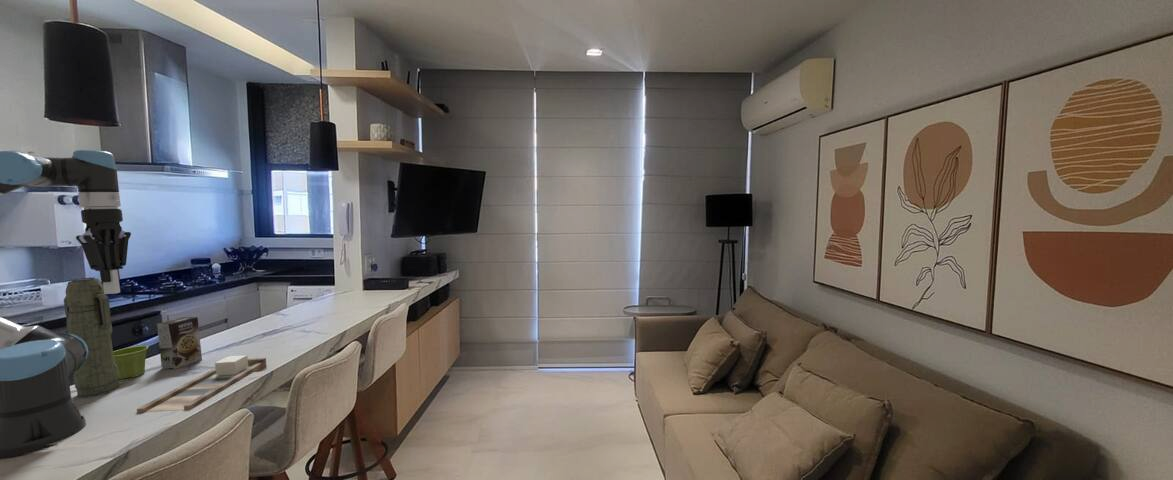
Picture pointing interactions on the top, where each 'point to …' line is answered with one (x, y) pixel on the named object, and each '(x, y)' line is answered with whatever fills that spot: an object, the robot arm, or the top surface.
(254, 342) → the top surface
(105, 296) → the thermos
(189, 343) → the coffee box
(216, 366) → the cream block
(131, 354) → the plant pot
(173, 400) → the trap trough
